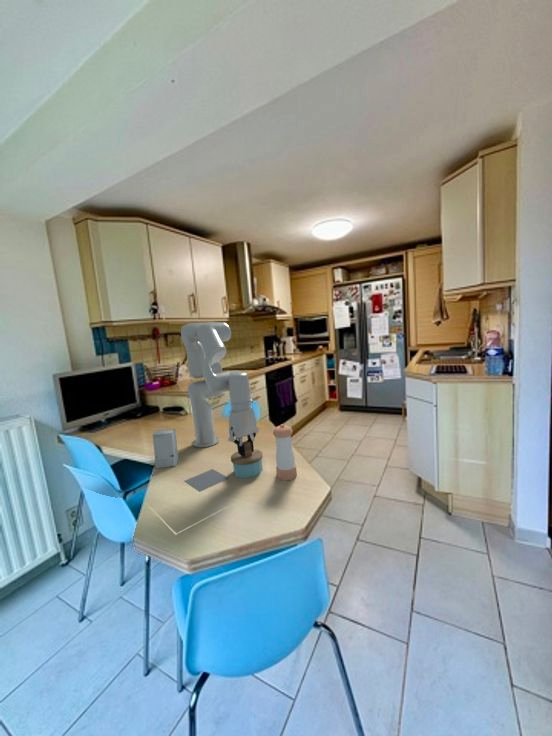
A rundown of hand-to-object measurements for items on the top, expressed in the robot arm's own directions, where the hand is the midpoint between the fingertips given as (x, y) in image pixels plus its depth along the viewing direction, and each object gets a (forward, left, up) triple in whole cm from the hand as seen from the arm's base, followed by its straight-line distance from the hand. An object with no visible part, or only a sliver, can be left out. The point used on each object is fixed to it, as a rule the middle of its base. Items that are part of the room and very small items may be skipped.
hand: (246, 452), depth 115 cm
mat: (-7, -14, -8) cm, 17 cm away
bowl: (0, 0, -8) cm, 8 cm away
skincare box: (-34, -18, -8) cm, 39 cm away
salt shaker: (+14, +7, -8) cm, 18 cm away
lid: (0, 0, -2) cm, 2 cm away
